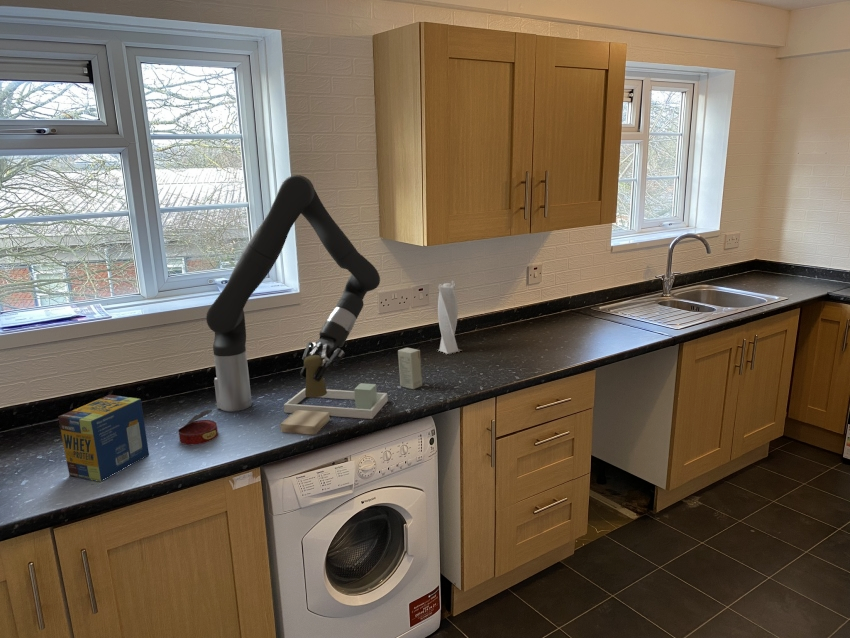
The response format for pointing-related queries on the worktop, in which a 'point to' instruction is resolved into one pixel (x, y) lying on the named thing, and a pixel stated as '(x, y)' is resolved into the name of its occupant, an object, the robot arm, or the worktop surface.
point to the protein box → (103, 436)
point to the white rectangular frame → (336, 411)
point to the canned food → (198, 430)
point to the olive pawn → (311, 385)
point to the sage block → (365, 396)
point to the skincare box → (410, 368)
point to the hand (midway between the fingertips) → (309, 378)
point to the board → (305, 422)
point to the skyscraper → (447, 318)
